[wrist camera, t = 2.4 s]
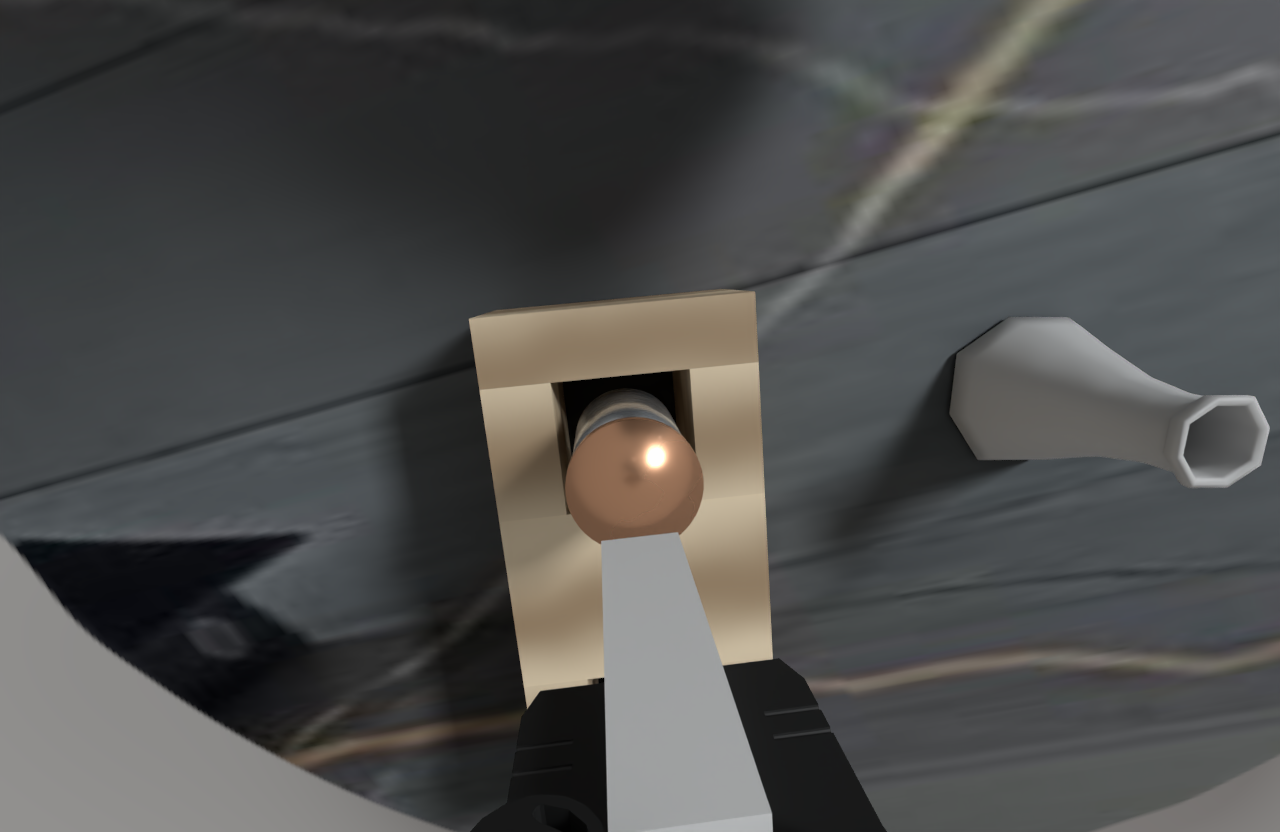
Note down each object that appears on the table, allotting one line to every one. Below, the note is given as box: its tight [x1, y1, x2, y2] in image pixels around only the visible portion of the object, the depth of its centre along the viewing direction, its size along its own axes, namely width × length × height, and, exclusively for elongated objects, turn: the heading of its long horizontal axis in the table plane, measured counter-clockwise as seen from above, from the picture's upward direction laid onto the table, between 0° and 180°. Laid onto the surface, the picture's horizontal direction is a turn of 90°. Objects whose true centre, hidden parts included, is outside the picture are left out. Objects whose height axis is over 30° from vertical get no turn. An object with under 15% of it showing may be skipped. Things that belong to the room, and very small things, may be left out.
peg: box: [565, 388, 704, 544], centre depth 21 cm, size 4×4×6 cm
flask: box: [949, 317, 1270, 488], centre depth 25 cm, size 7×7×10 cm
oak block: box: [469, 289, 773, 709], centre depth 27 cm, size 22×10×6 cm, turn 5°
